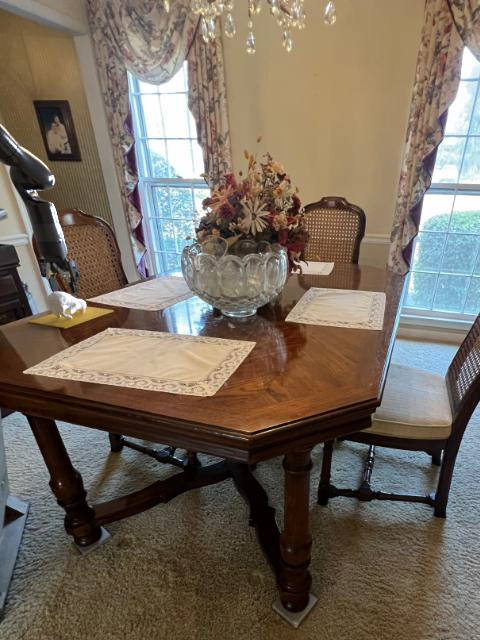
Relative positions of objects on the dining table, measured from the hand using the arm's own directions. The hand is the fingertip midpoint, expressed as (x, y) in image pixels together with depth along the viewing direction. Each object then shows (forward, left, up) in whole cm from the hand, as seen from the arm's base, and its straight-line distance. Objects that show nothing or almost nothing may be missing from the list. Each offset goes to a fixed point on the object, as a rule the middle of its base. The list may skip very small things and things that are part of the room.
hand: (65, 292), depth 123 cm
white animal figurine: (0, 0, -8) cm, 8 cm away
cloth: (0, 0, -8) cm, 8 cm away
